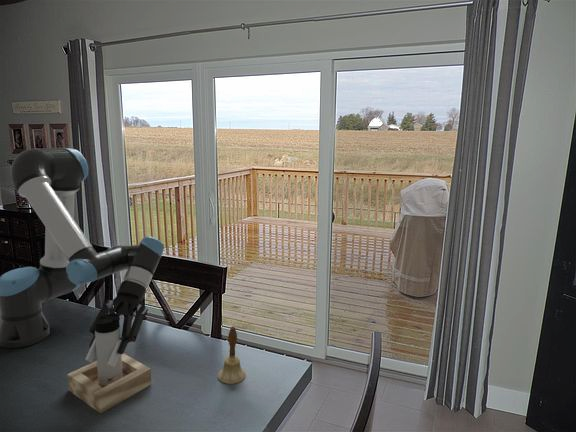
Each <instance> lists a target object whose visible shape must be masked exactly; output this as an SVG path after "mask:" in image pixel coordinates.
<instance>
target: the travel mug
mask: <svg viewBox="0 0 576 432" xmlns="http://www.w3.org/2000/svg"><path fill="white" fill-rule="evenodd" d="M120 320H121V316H119V315H117V314H116V313H115V314H108V315H104V316H101V317H100V318H98V319H97V320H94V321H95V340H96V361H97V370H98V385H100V386H101V387H105V386H107V385H109V384H111V383H113V382H115V381H117V380H119V379H121V378H123V376H122V357H121V354H120V356H119V359H118V361H117V363H116V366H115V367H112V366H110V365H108V361H109V359H110V357H111V355H112V352H113V350H114V348H115V345H116V343H117V341H118V340H121V339H120V338H121V325H120ZM121 341H122V340H121Z"/></svg>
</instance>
